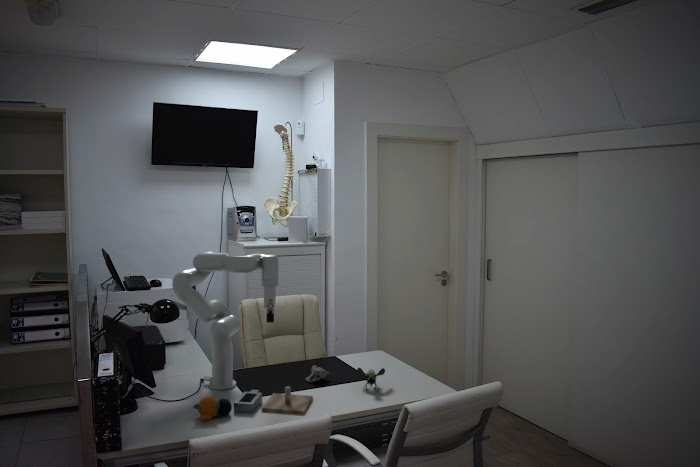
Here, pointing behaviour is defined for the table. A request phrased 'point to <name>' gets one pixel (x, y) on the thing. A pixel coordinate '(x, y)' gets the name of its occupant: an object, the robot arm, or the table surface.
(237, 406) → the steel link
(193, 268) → the robot arm
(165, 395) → the table surface
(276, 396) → the keeper board
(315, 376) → the mineral specimen
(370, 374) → the insect
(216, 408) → the toy
